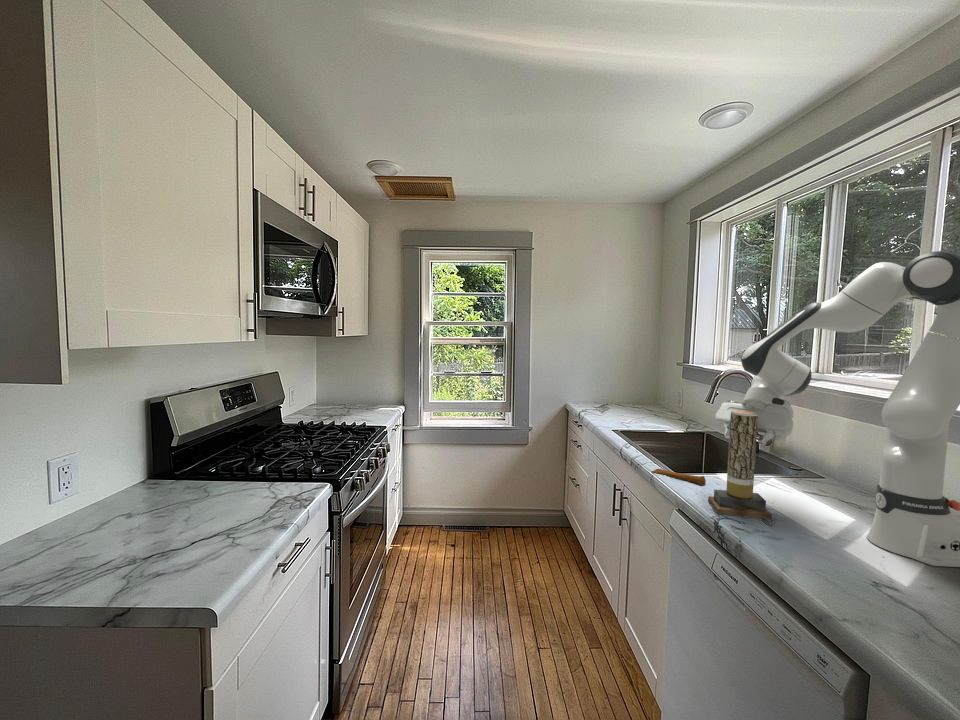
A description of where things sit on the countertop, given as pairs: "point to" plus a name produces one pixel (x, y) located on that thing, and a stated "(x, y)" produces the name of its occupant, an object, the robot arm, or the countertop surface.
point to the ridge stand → (739, 505)
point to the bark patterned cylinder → (741, 453)
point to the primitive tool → (682, 476)
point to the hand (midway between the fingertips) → (743, 440)
